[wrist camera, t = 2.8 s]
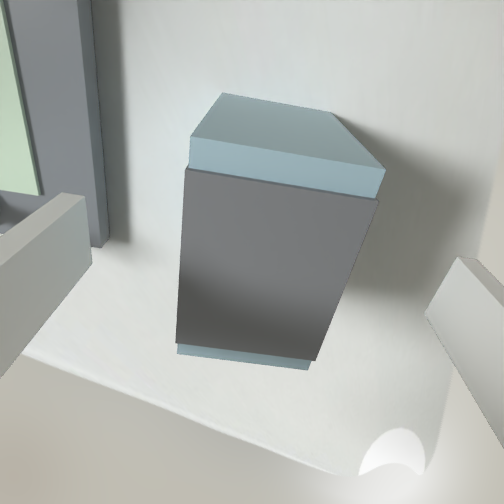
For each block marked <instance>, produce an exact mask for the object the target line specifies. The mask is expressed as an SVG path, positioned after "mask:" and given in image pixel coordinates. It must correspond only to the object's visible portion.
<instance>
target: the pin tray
mask: <svg viewBox="0 0 504 504" xmlns="http://www.w3.org/2000/svg"><path fill="white" fill-rule="evenodd" d="M62 192H63V193H69V194H75V195H81V196H85V201H86V209H87V218H88V227H89V236H90V245H91V247H97V248H102V247H103V245H104V244H105V243H106V241H107V240H108V239H109V237H110V233H109V221H108V208H107V196H106V184H105V171H104V159H103V146H102V134H101V122H100V109H99V97H98V85H97V72H96V60H95V47H94V35H93V23H92V10H91V0H0V233H1V234H4V233H6V232H7V231H8V230H10V229H11V228H13V227H14V226H15V225H17V224H18V223H20V222H21V221H22V220H24V219H25V218H27V217H28V216H29V215H31V214H32V213H34V212H35V211H36V210H38V209H39V208H41V207H42V206H43V205H45V204H46V203H48V202H49V201H50V200H52V199H53V198H55V197H56V196H57V195H59V194H60V193H62Z"/></svg>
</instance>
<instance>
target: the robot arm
mask: <svg viewBox="0 0 504 504" xmlns="http://www.w3.org/2000/svg"><path fill="white" fill-rule="evenodd" d="M91 264H92V254H91V245H90V236H89V227H88V218H87V209H86V201H85V196H81V195H75V194H69V193H63V192H62V193H60V194H59V195H57V196H56V197H55V198H53V199H52V200H50V201H49V202H48V203H46V204H45V205H43V206H42V207H41V208H39V209H38V210H36V211H35V212H34V213H32V214H31V215H29V216H28V217H27V218H25V219H24V220H22V221H21V222H20V223H18V224H17V225H15V226H14V227H13V228H11V229H10V230H8V231H7V232H6V233H4V234H3V235H1V236H0V378H1V377H2V376H3V375H4V373H5V372H6V371H7V370H8V368H9V367H10V366H11V365H12V363H13V362H14V361H15V360H16V358H17V357H18V356H19V355H20V353H21V352H22V351H23V350H24V348H25V347H26V346H27V345H28V343H29V342H30V341H31V340H32V338H33V337H34V336H35V335H36V333H37V332H38V331H39V330H40V328H41V327H42V326H43V325H44V323H45V322H46V321H47V320H48V318H49V317H50V316H51V315H52V313H53V312H54V311H55V310H56V308H57V307H58V306H59V305H60V303H61V302H62V301H63V300H64V298H65V297H66V296H67V295H68V293H69V292H70V291H71V290H72V288H73V287H74V286H75V285H76V283H77V282H78V281H79V280H80V278H81V277H82V276H83V274H84V273H85V272H86V271H87V269H88V268H89V267H90V266H91ZM424 315H425V316H426V318H427V320H428V321H429V323H430V325H431V326H432V328H433V330H434V331H435V333H436V335H437V337H438V338H439V340H440V342H441V343H442V345H443V347H444V348H445V350H446V352H447V353H448V355H449V357H450V359H451V360H452V362H453V364H454V365H455V367H456V368H457V370H458V372H459V374H460V375H461V377H462V379H463V381H464V382H465V384H466V386H467V387H468V389H469V391H470V392H471V394H472V396H473V397H474V399H475V401H476V403H477V404H478V406H479V408H480V409H481V411H482V413H483V414H484V416H485V418H486V419H487V421H488V423H489V425H490V426H491V428H492V430H493V431H494V433H495V435H496V436H497V438H498V440H499V441H500V443H501V445H502V447H503V448H504V286H503V285H502V284H501V283H500V282H499V281H498V280H497V279H496V278H495V277H494V276H493V275H492V274H491V273H490V272H489V271H488V270H487V269H486V268H485V267H484V266H483V265H482V264H481V263H480V262H479V261H478V260H476V259H470V258H464V257H457V258H456V259H455V261H454V263H453V264H452V266H451V268H450V270H449V271H448V273H447V275H446V276H445V278H444V280H443V282H442V283H441V285H440V287H439V288H438V290H437V292H436V294H435V295H434V297H433V299H432V300H431V302H430V304H429V306H428V307H427V309H426V311H425V312H424Z"/></svg>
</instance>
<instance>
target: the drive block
mask: <svg viewBox="0 0 504 504" xmlns="http://www.w3.org/2000/svg"><path fill="white" fill-rule="evenodd" d="M385 172H386V169H385V168H384V167H383V166H382V165H381V164H380V163H379V162H378V161H377V160H376V159H375V158H374V157H373V155H372V154H371V153H370V152H369V151H368V150H367V149H366V148H365V147H364V146H363V145H362V144H361V143H360V142H359V141H358V140H357V139H356V138H355V137H354V136H353V135H352V134H351V133H350V132H349V131H348V130H347V129H346V128H345V127H344V125H343V124H342V123H341V122H340V121H339V120H338V119H337V118H336V117H335V116H334V115H333V114H332V113H331V112H326V111H321V110H315V109H309V108H304V107H298V106H293V105H287V104H282V103H276V102H271V101H265V100H260V99H254V98H249V97H243V96H238V95H232V94H227V93H222V94H221V95H220V96H219V98H218V99H217V100H216V102H215V103H214V105H213V106H212V107H211V109H210V110H209V111H208V113H207V114H206V116H205V117H204V118H203V120H202V121H201V122H200V124H199V125H198V126H197V128H196V129H195V131H194V132H193V133H192V135H191V136H190V151H189V164H188V166H187V167H186V169H185V180H184V198H183V216H182V234H181V252H180V270H179V289H178V307H177V325H176V343H178V349H177V354H182V355H190V356H198V357H206V358H214V359H222V360H230V361H238V362H246V363H254V364H262V365H270V366H277V367H285V368H293V369H301V370H308V368H309V366H310V363H311V361H315V360H316V358H317V355H318V353H319V350H320V348H321V345H322V343H323V340H324V338H325V335H326V333H327V330H328V328H329V325H330V323H331V320H332V318H333V315H334V313H335V310H336V308H337V305H338V303H339V300H340V298H341V295H342V293H343V290H344V288H345V285H346V283H347V280H348V278H349V276H350V273H351V271H352V268H353V266H354V263H355V261H356V258H357V256H358V253H359V251H360V248H361V246H362V243H363V241H364V238H365V236H366V233H367V231H368V228H369V226H370V223H371V221H372V218H373V216H374V213H375V211H376V208H377V206H378V203H379V201H378V200H377V198H376V195H377V192H378V190H379V187H380V184H381V182H382V179H383V177H384V174H385Z"/></svg>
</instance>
